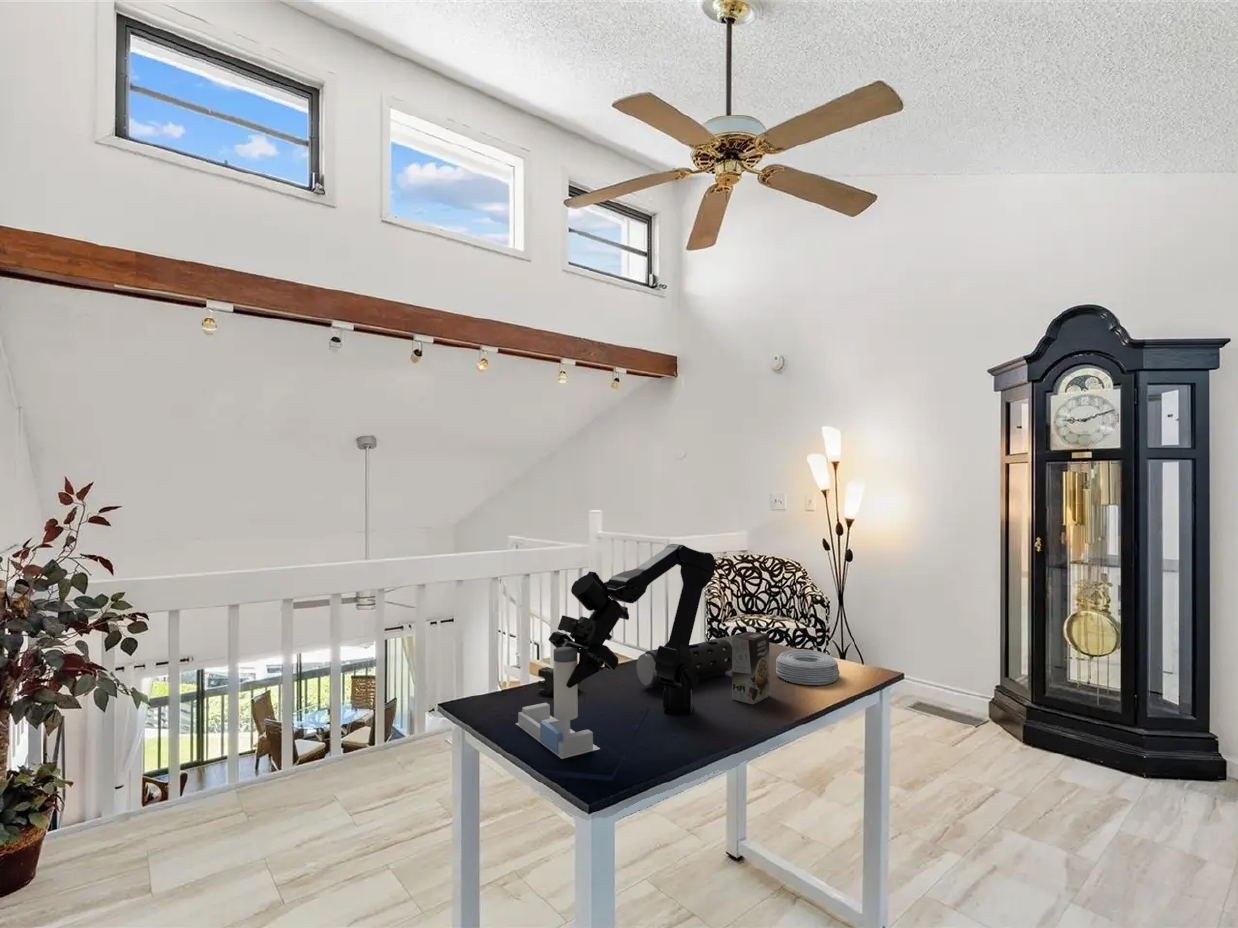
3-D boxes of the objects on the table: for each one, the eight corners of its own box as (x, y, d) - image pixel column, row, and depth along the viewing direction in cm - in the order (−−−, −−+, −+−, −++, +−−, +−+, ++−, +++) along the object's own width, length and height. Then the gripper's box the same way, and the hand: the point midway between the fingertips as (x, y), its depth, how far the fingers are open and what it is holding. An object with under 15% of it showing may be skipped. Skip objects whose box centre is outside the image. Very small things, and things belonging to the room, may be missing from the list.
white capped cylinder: (577, 711, 145) (577, 646, 145) (577, 719, 140) (577, 652, 140) (554, 712, 145) (553, 647, 145) (553, 720, 140) (553, 653, 140)
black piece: (553, 699, 173) (553, 672, 173) (536, 692, 178) (536, 667, 178) (582, 690, 180) (582, 664, 180) (565, 684, 185) (565, 659, 185)
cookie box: (753, 705, 167) (753, 640, 168) (731, 699, 171) (730, 636, 172) (771, 695, 174) (770, 633, 175) (749, 690, 178) (748, 629, 179)
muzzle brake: (736, 678, 190) (736, 642, 190) (654, 695, 175) (654, 656, 175) (714, 670, 198) (714, 635, 198) (634, 686, 183) (634, 648, 184)
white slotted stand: (550, 719, 158) (550, 698, 158) (600, 752, 139) (600, 729, 139) (515, 726, 153) (515, 705, 154) (561, 762, 134) (561, 738, 134)
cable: (806, 665, 203) (806, 645, 203) (853, 680, 188) (853, 659, 188) (763, 675, 194) (762, 653, 194) (809, 691, 179) (808, 668, 179)
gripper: (555, 595, 152) (513, 652, 145) (607, 607, 138) (563, 671, 131) (583, 625, 157) (544, 682, 150) (636, 639, 143) (595, 703, 136)
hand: (560, 683), depth 141 cm, fingers closed on white capped cylinder, 5 cm apart
